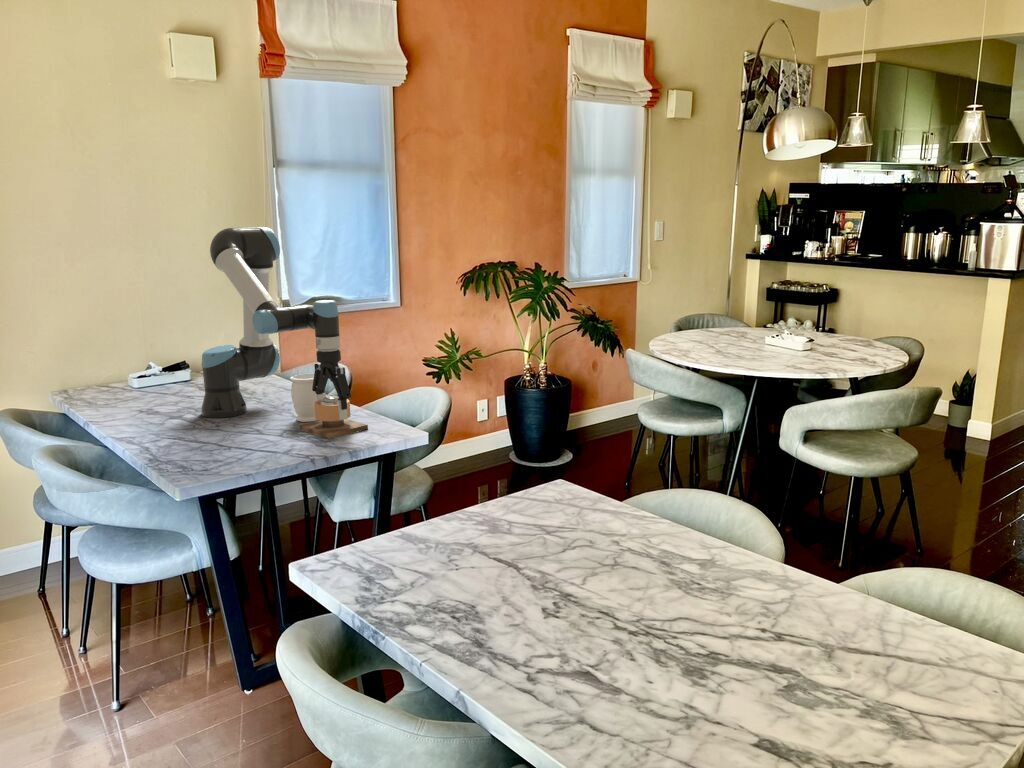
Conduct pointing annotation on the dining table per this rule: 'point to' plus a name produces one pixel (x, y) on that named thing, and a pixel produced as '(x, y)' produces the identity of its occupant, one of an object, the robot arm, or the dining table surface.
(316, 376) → the robot arm
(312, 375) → the jar
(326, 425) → the frosted glass cylinder
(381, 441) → the dining table surface
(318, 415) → the ring
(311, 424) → the wooden board
